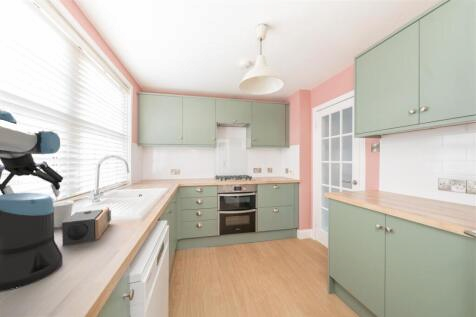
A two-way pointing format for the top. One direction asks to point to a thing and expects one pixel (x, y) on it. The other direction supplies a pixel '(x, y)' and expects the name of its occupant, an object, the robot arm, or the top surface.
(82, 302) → the top surface
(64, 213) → the cup
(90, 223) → the camera housing
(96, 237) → the door
